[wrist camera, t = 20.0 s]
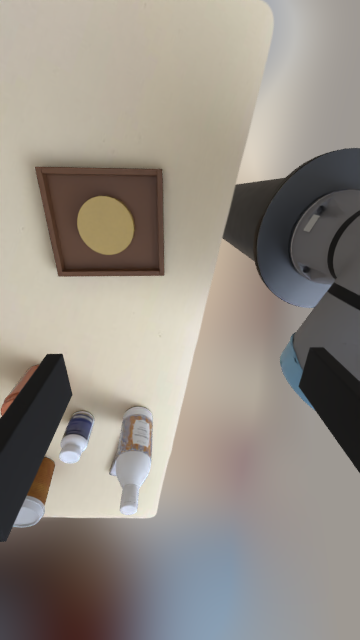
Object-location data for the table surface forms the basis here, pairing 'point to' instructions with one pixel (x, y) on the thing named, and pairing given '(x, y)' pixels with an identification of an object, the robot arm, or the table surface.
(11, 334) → the table surface
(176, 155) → the table surface
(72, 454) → the pill bottle
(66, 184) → the tray
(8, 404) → the jar
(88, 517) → the table surface
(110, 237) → the lid
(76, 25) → the table surface
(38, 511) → the disposable coffee cup
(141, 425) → the bath foam
